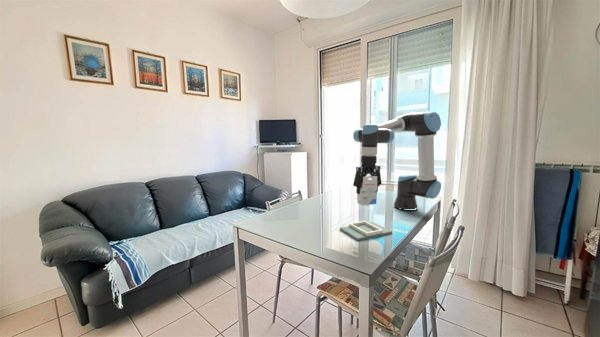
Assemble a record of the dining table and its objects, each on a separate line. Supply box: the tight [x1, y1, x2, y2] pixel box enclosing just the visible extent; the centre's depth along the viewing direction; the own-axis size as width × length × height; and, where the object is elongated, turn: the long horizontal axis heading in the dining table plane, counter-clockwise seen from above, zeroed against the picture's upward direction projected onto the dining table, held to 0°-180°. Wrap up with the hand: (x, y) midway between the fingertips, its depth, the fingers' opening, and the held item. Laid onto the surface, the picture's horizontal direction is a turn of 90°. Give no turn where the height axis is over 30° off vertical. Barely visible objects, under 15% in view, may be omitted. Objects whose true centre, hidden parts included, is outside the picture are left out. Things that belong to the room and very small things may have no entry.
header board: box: [339, 220, 393, 242], centre depth 129 cm, size 22×15×3 cm
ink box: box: [357, 175, 378, 206], centre depth 126 cm, size 9×5×15 cm, turn 106°
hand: (366, 198), depth 127 cm, fingers closed on ink box, 9 cm apart
